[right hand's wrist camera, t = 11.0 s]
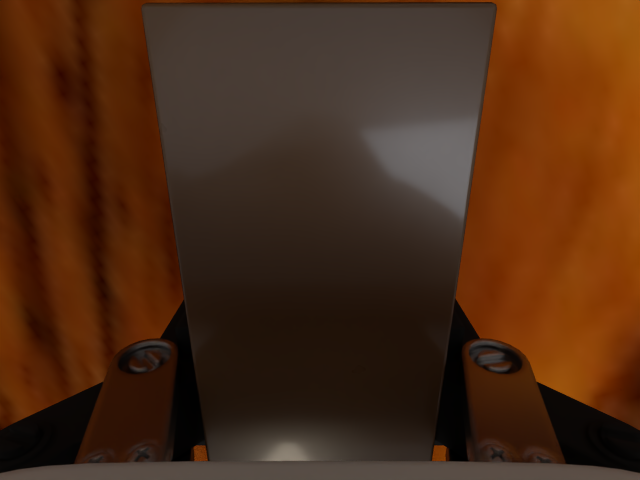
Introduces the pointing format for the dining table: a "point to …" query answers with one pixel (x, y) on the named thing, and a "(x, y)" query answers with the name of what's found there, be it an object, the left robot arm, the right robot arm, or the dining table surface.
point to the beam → (319, 214)
